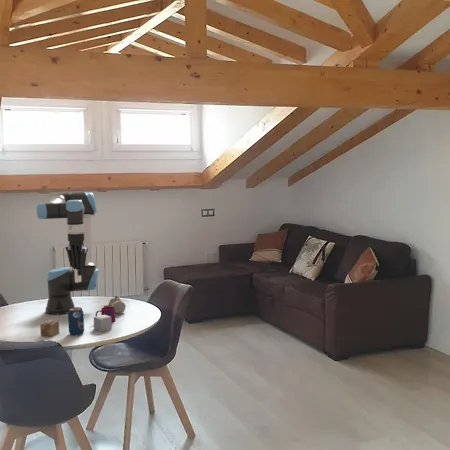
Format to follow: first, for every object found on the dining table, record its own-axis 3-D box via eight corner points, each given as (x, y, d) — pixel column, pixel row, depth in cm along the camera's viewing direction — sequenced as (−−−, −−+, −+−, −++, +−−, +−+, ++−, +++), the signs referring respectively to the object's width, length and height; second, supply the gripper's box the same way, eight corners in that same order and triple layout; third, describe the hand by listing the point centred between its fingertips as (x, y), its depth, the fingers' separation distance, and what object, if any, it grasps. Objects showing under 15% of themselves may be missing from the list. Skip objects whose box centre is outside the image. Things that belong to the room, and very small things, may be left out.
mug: (117, 321, 284) (116, 308, 283) (97, 324, 279) (97, 311, 279) (112, 318, 290) (112, 305, 289) (93, 321, 285) (93, 308, 284)
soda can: (83, 335, 261) (81, 310, 260) (67, 336, 261) (66, 310, 260) (85, 331, 268) (84, 306, 267) (70, 332, 268) (69, 307, 266)
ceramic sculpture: (110, 299, 295) (102, 295, 308) (110, 315, 295) (102, 311, 309) (129, 296, 300) (120, 293, 313) (130, 313, 300) (121, 308, 314)
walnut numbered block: (40, 336, 262) (40, 323, 261) (47, 332, 268) (46, 319, 267) (52, 337, 260) (52, 323, 260) (59, 333, 266) (58, 320, 266)
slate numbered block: (94, 329, 272) (93, 316, 272) (105, 326, 276) (104, 314, 276) (100, 331, 268) (100, 318, 267) (111, 329, 272) (111, 316, 271)
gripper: (60, 233, 268) (62, 281, 271) (79, 234, 261) (82, 285, 264) (72, 230, 274) (74, 278, 277) (91, 232, 267) (93, 281, 270)
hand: (78, 281), depth 271 cm, fingers closed
